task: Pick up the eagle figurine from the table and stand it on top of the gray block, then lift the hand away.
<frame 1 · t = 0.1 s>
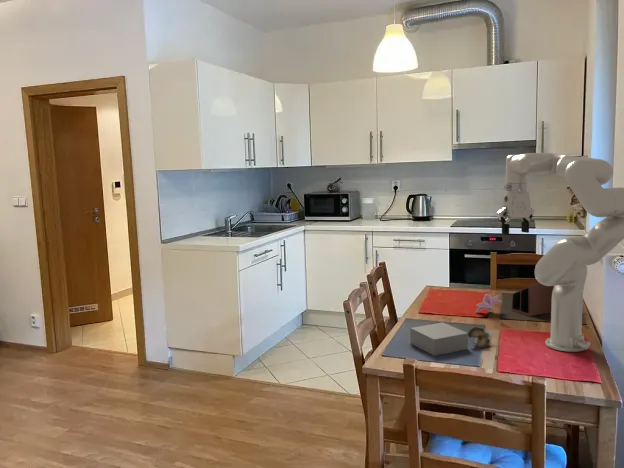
hand: (515, 233, 194), 37 cm above the table, tool pointing down, fingers open, 9 cm apart
lily: (488, 314, 217), on the table
eagle figurine: (480, 345, 182), on the table
letter holder: (537, 311, 221), on the table
gray block: (438, 347, 181), on the table
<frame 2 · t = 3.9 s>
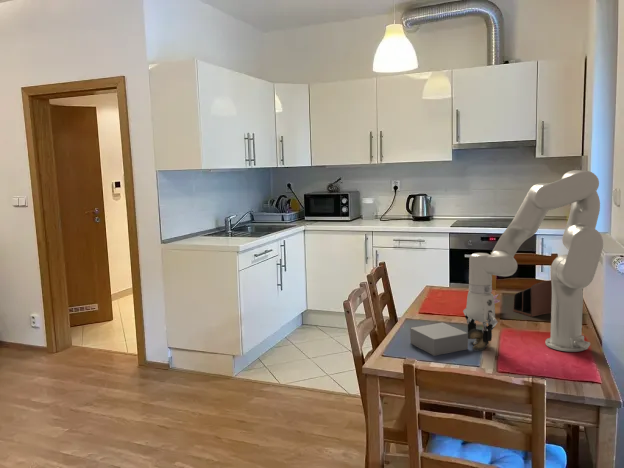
hand: (479, 337, 182), 2 cm above the table, tool pointing down, fingers closed on eagle figurine, 7 cm apart
eagle figurine: (478, 346, 180), on the table, touching gripper
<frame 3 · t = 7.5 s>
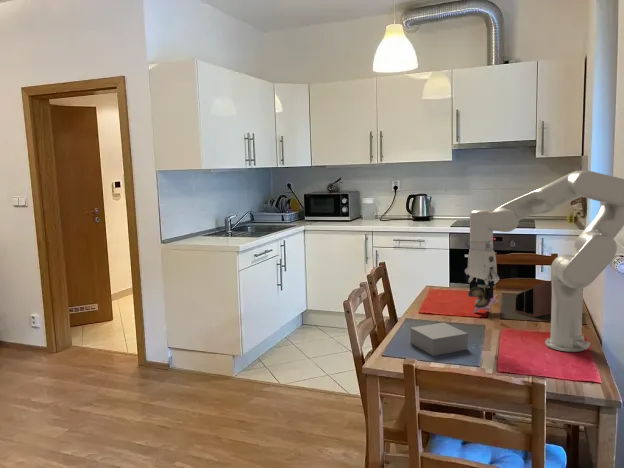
hand: (481, 295, 180), 17 cm above the table, tool pointing down, fingers closed on eagle figurine, 7 cm apart
eagle figurine: (480, 304, 178), point 15 cm above the table, touching gripper
when the fingers open (9 cm above the table, at t = 11.3 s): eagle figurine drops 1 cm, point 5 cm above the table.
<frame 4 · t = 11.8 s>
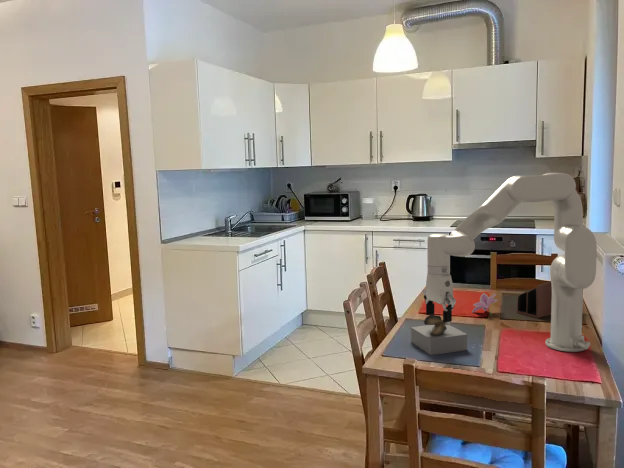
hand: (438, 318, 180), 10 cm above the table, tool pointing down, fingers open, 9 cm apart
eagle figurine: (436, 332, 179), point 5 cm above the table
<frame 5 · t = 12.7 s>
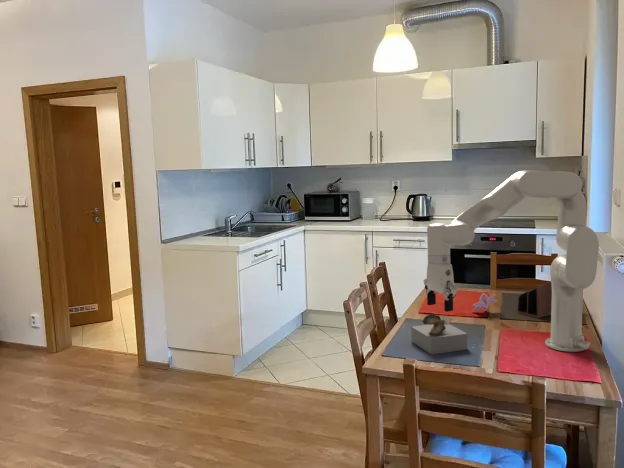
hand: (440, 307, 179), 14 cm above the table, tool pointing down, fingers open, 9 cm apart
eagle figurine: (436, 332, 179), point 5 cm above the table, touching gray block
gray block: (438, 346, 182), on the table, touching eagle figurine
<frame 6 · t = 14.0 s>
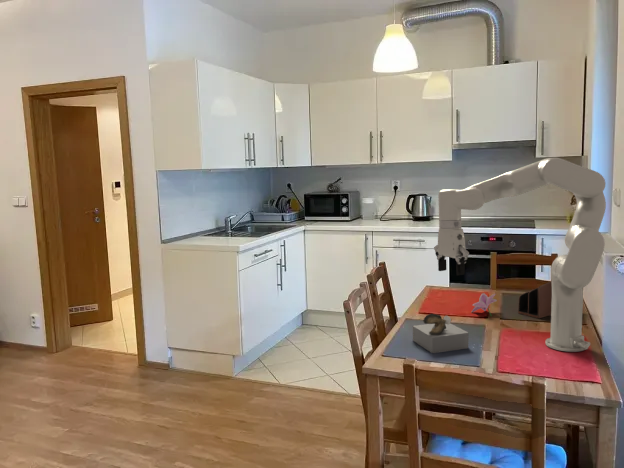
hand: (451, 272, 182), 25 cm above the table, tool pointing down, fingers open, 9 cm apart
eagle figurine: (436, 331, 180), point 5 cm above the table, touching gray block
gray block: (439, 345, 183), on the table, touching eagle figurine
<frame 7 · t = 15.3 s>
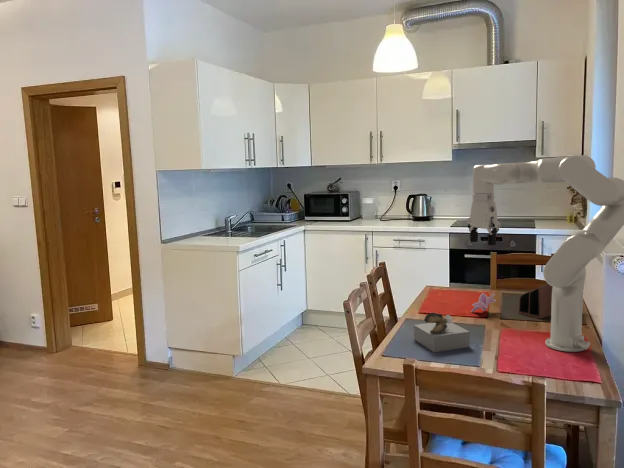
hand: (482, 243, 194), 33 cm above the table, tool pointing down, fingers open, 9 cm apart
eagle figurine: (438, 330, 181), point 5 cm above the table, touching gray block
gray block: (441, 344, 184), on the table, touching eagle figurine
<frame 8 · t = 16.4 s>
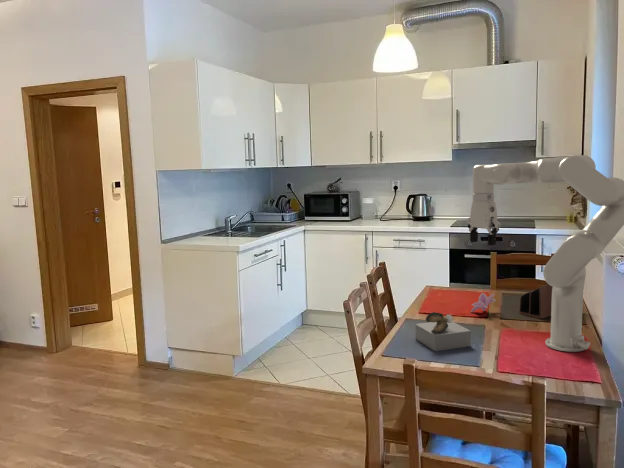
hand: (482, 243, 194), 33 cm above the table, tool pointing down, fingers open, 9 cm apart
gray block: (442, 343, 185), on the table, touching eagle figurine
at the end: eagle figurine inside the target area on the gray block (3.1 cm from its centre), point 5.8 cm above the gray block's base; eagle figurine tilted 0°; the gripper is holding nothing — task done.
